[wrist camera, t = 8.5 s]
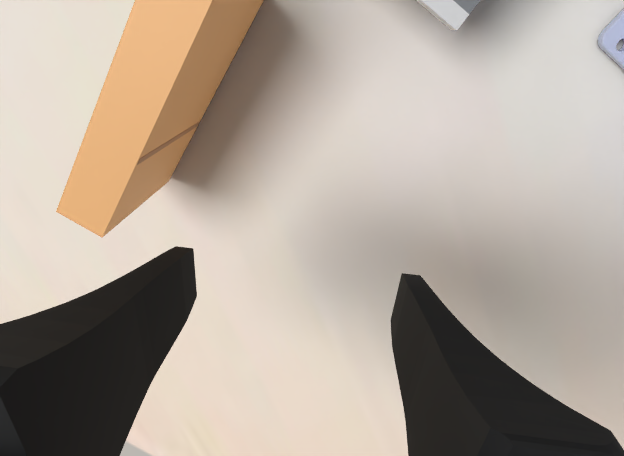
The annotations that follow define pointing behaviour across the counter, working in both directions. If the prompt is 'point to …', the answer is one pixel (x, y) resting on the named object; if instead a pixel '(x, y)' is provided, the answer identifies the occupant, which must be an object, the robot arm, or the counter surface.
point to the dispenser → (450, 11)
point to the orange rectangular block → (151, 104)
